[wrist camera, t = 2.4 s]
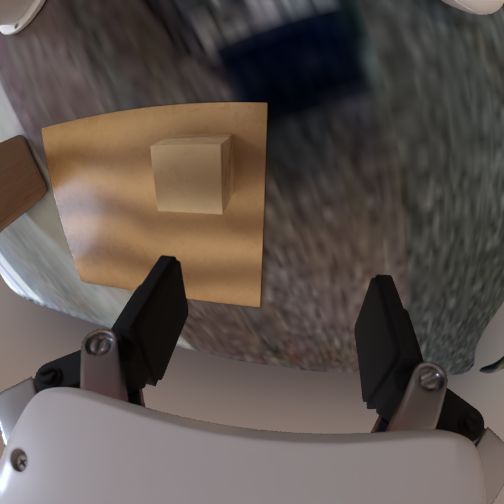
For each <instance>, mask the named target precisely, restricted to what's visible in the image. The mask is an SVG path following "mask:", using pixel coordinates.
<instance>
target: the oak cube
mask: <svg viewBox="0 0 504 504" xmlns="http://www.w3.org/2000/svg"><path fill="white" fill-rule="evenodd" d="M150 148H151V159H152V168H153V177H154V185H155V193H156V201H157V208H158V211H166V212H187V213H206V214H223V213H224V211H225V209H226V207H227V205H228V203H229V201H230V199H231V198H232V196H233V194H234V134H175V135H171V136H169V137H167V138H165V139H163V140H161V141H159V142H157V143H155V144H153V145H151V146H150Z"/></svg>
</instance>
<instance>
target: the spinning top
mask: <svg viewBox="0 0 504 504" xmlns="http://www.w3.org/2000/svg"><path fill="white" fill-rule="evenodd" d="M442 1H443V2H445V3H447V4H449V5H451V6H453V7H455V8H457V9H460V10H462V11H465V12H468V13H472V14H480V15H482V14H491V13H493V12H496V11H497V10H499V9H500V8H501V6H502V5H503V3H504V0H442Z"/></svg>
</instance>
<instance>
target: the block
mask: <svg viewBox="0 0 504 504" xmlns="http://www.w3.org/2000/svg"><path fill="white" fill-rule="evenodd" d="M46 191H47V188H46V184H45V182H44V180H43V178H42V176H41V174H40V172H39V170H38V168H37V166H36V164H35V162H34V159H33V157H32V155H31V153H30V150H29V148H28V146H27V143H26V141H25V138H24V137H23V136H22V135H18V136H15V137H13V138H10V139H8V140H6V141H3V142H1V143H0V232H1V231H2V230H4V229H5V228H6V227H7V226H8V225H10V224H11V223H12V222H14V221H15V220H16V219H17V218H19V217H20V216H21V215H23V214H24V213H25V212H26V211H27V210H28V209H29V208H30V207H31V206H33V205H34V204H35V203H36V202H37V201H38V200H39V199H41V198H42V197H43V196H44V194H45V193H46Z"/></svg>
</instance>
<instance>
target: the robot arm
mask: <svg viewBox="0 0 504 504" xmlns="http://www.w3.org/2000/svg"><path fill="white" fill-rule="evenodd" d="M45 1H46V0H0V31H1V33H3V34H6V35H10V34H15V33H18V32H19V31H21V30H23V29H24V28H25V27H26V26H27V25H28V24H29V23H30V22H31V21H32V20H33V19H34V17H35V16H36V15H37V13H38V12H39V10H40V9H41V7H42V6H43V4H44V2H45ZM187 316H188V304H187V299H186V293H185V287H184V281H183V275H182V269H181V263H180V261H179V260H177V259H176V257H175V256H166V255H161V256H160V257H159V259H158V260H157V262H156V263H155V265H154V266H153V268H152V269H151V271H150V272H149V274H148V275H147V277H146V278H145V280H144V281H143V283H142V284H141V285H139V286H138V287H137V289H136V290H135V292H134V293H133V295H132V297H131V298H130V300H129V301H128V303H127V304H126V306H125V308H124V309H123V311H122V312H121V314H120V316H119V317H118V319H117V320H116V322H115V324H114V325H113V327H112V329H111V330H108V329H97V330H94V331H92V332H90V333H89V334H88V335H87V336H86V337H85V338H84V340H83V341H82V345H81V350H79V351H77V352H74V353H72V354H69V355H66V356H64V357H61V358H59V359H56V360H54V361H51V362H49V363H46V364H45V365H43V366H42V367H41V368H40V369H39V370H38V372H37V373H36V376H35V378H34V379H33V378H32V377H30V378H28V379H26V380H24V381H22V382H20V383H18V384H16V385H14V386H12V387H10V388H8V389H6V390H4V391H2V392H1V393H0V432H1V435H2V439H3V443H4V446H5V449H4V452H3V454H2V457H1V459H0V504H493V502H494V501H495V499H496V498H497V496H498V494H499V493H500V491H501V489H502V488H503V486H504V442H503V441H502V440H501V439H500V438H499V437H498V436H497V435H496V434H495V433H494V432H493V431H492V430H491V429H490V428H488V427H487V428H486V429H485V428H484V420H483V417H482V415H481V413H480V412H479V411H478V410H477V409H475V408H474V407H473V406H471V405H470V404H469V403H467V402H466V401H464V400H463V399H462V398H460V397H459V396H458V395H456V394H455V393H454V392H452V391H451V390H449V389H448V388H447V382H448V379H447V375H446V373H445V371H444V370H443V369H442V368H441V367H440V366H439V365H437V364H436V363H433V362H424V361H423V358H422V354H421V351H420V347H419V344H418V341H417V338H416V335H415V332H414V328H413V325H412V322H411V320H410V317H409V314H408V312H407V310H406V309H403V306H402V303H401V300H400V297H399V295H398V292H397V289H396V287H395V284H394V281H393V279H392V277H391V276H390V275H377V276H376V277H375V278H372V279H371V281H370V284H369V287H368V290H367V293H366V296H365V299H364V302H363V305H362V308H361V311H360V313H359V316H358V319H357V322H356V324H355V331H354V332H355V340H356V347H357V354H358V362H359V370H360V379H361V388H362V398H363V401H364V402H367V409H376V412H377V413H378V414H379V417H378V419H377V421H376V423H375V425H374V427H373V429H372V431H371V433H353V434H312V433H291V432H278V431H267V430H257V429H249V428H241V427H234V426H228V425H222V424H215V423H210V422H204V421H200V420H195V419H190V418H185V417H181V416H177V415H172V414H168V413H164V412H160V411H157V410H153V409H149V408H146V407H145V402H144V398H143V392H142V388H144V387H145V385H146V384H149V385H153V386H156V384H157V381H158V380H161V379H162V378H163V376H164V373H165V371H166V368H167V366H168V363H169V361H170V358H171V356H172V353H173V351H174V348H175V346H176V343H177V341H178V338H179V336H180V333H181V331H182V329H183V326H184V324H185V321H186V319H187Z"/></svg>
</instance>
